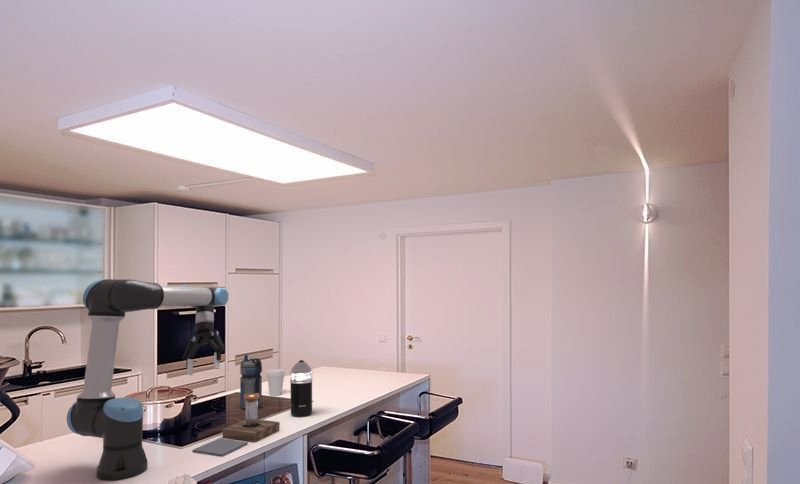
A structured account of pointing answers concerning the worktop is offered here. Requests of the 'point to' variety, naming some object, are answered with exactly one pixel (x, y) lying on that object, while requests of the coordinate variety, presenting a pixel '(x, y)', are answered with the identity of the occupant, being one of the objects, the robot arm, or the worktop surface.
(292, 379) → the black coffee grinder
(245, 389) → the beverage bottle
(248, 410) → the steel plug
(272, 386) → the foam cup
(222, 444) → the rubber pad
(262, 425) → the bore block
